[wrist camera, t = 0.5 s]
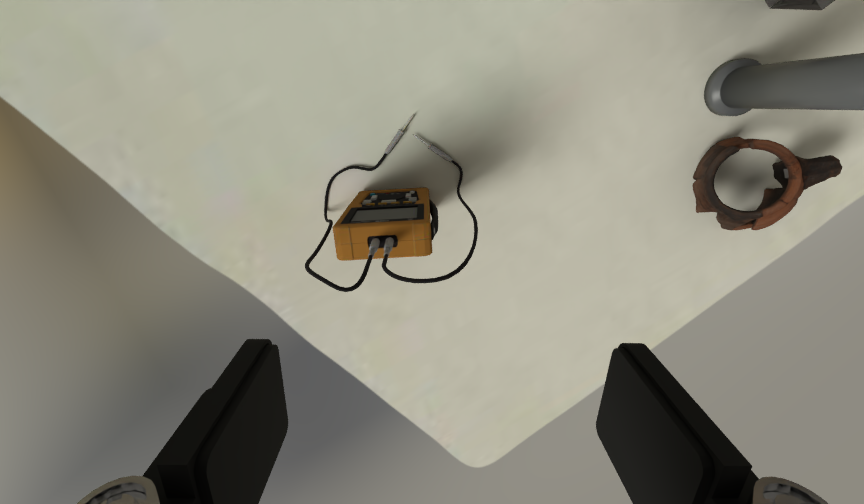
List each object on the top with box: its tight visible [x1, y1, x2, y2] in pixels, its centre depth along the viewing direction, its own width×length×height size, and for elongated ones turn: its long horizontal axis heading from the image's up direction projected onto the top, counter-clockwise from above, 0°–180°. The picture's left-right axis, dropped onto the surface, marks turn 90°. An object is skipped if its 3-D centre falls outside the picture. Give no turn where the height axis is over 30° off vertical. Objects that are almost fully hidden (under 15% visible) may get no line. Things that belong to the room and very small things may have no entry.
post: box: [704, 53, 864, 116], centre depth 30 cm, size 5×5×18 cm
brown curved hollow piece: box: [693, 137, 842, 230], centre depth 39 cm, size 12×10×8 cm
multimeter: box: [305, 114, 478, 292], centre depth 31 cm, size 15×10×20 cm
